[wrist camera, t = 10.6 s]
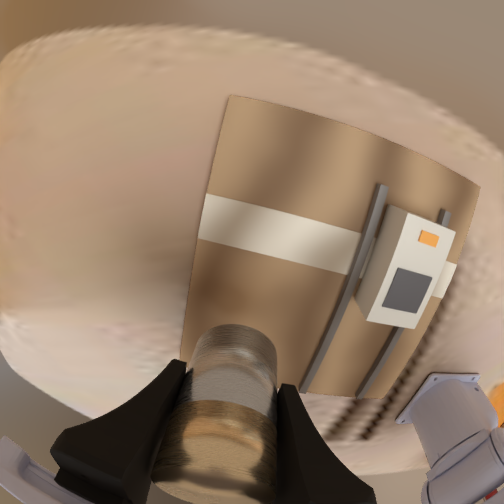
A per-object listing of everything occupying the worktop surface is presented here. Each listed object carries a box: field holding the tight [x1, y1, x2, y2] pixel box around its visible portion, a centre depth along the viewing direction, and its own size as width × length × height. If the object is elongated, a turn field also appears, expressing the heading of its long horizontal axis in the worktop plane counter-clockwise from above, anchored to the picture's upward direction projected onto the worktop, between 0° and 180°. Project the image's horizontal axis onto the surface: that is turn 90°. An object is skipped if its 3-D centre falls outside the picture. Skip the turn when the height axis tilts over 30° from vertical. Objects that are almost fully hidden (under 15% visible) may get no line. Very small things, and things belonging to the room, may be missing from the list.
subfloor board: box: [180, 95, 480, 399], centre depth 19 cm, size 20×21×2 cm
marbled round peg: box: [150, 324, 277, 504], centre depth 11 cm, size 4×4×8 cm
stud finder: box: [354, 204, 456, 329], centre depth 16 cm, size 4×7×3 cm, turn 167°
